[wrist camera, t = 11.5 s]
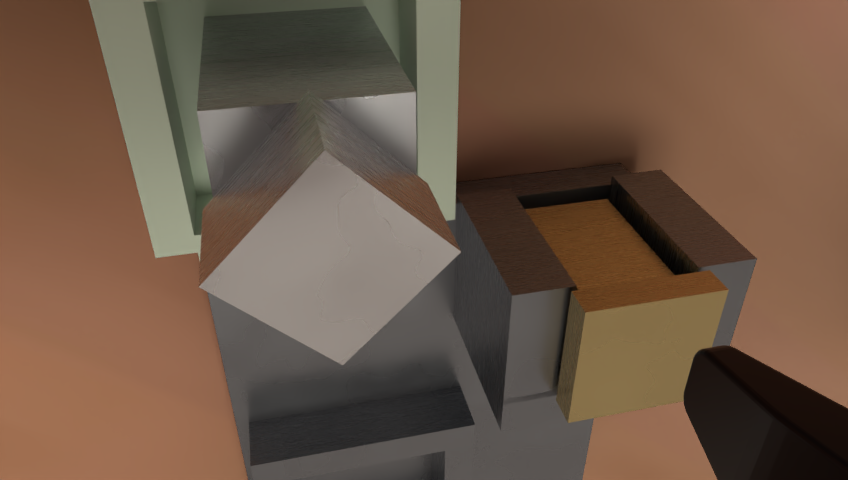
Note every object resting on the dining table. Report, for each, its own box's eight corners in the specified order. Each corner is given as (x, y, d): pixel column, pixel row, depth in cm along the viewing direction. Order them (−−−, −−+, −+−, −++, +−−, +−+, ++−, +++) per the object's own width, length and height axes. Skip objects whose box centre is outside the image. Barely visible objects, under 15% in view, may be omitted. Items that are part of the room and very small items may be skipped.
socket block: (642, 152, 23) (756, 258, 18) (583, 468, 31) (649, 598, 26) (194, 204, 20) (185, 345, 15) (264, 532, 28) (272, 690, 24)
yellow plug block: (625, 182, 21) (729, 290, 17) (607, 280, 23) (696, 398, 19) (508, 196, 20) (585, 312, 16) (501, 296, 22) (568, 423, 18)
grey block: (374, -4, 17) (465, 136, 11) (380, 154, 20) (457, 347, 13) (192, 7, 16) (172, 166, 10) (221, 170, 19) (220, 385, 12)
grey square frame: (431, -90, 17) (462, -68, 15) (429, 185, 21) (454, 235, 19) (97, -75, 16) (76, -49, 13) (167, 216, 20) (159, 274, 18)
